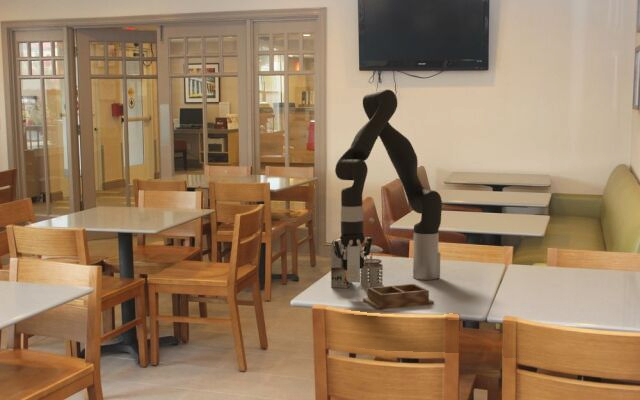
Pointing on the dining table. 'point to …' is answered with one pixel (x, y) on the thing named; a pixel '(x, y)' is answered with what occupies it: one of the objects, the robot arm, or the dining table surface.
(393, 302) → the wooden compartment tray
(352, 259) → the skincare box
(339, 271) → the coffee box
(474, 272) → the dining table surface
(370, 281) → the french press
